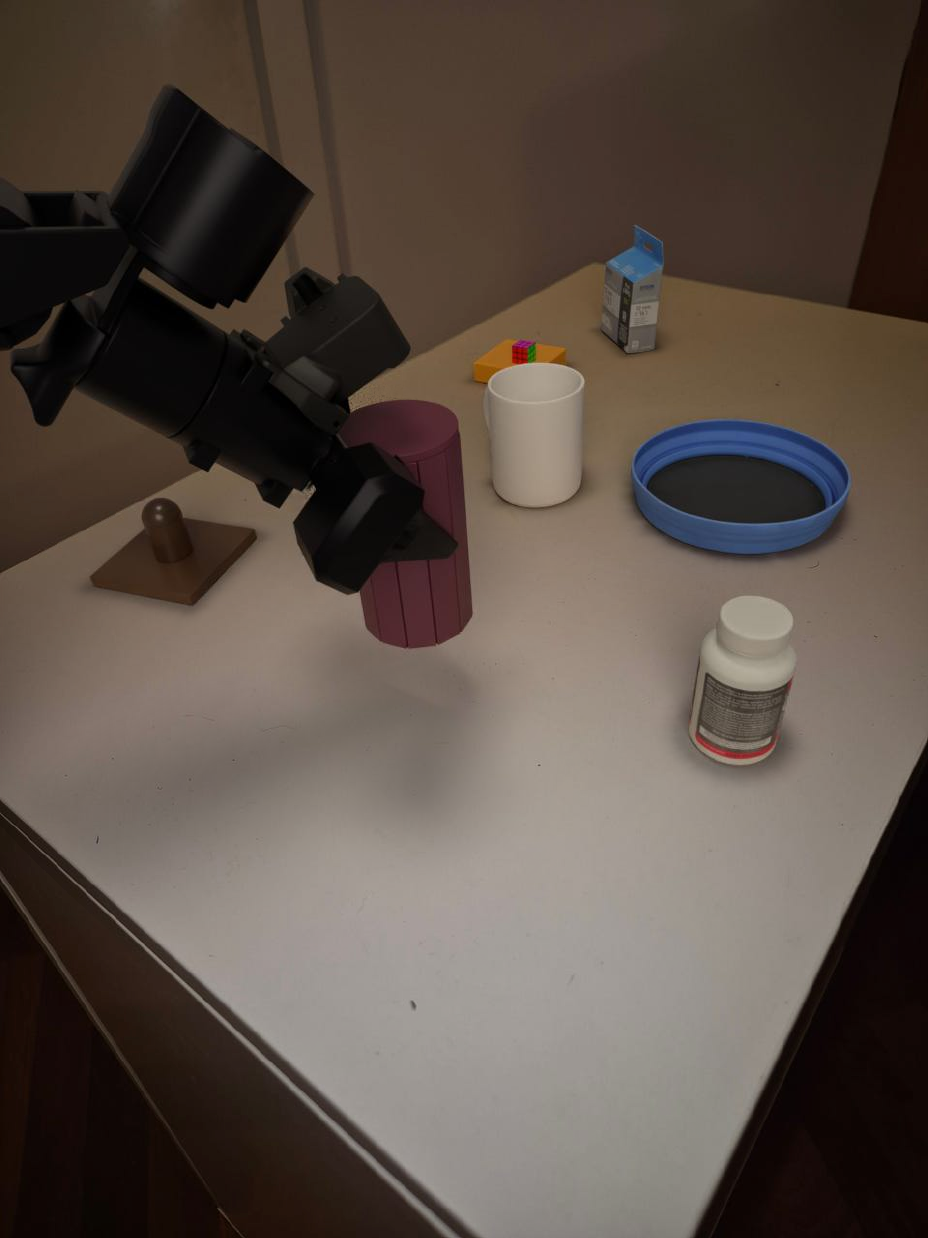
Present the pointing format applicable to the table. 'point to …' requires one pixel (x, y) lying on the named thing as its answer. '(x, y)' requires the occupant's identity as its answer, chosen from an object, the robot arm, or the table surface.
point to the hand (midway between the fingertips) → (429, 519)
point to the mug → (535, 433)
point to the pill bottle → (743, 681)
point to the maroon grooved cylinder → (431, 449)
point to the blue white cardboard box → (633, 294)
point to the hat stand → (173, 555)
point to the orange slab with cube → (516, 357)
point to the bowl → (739, 485)
